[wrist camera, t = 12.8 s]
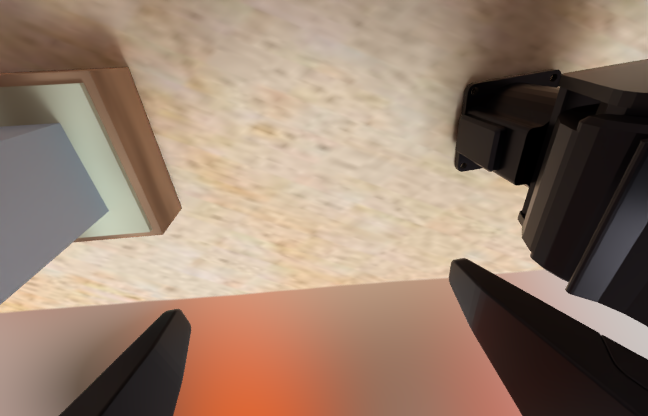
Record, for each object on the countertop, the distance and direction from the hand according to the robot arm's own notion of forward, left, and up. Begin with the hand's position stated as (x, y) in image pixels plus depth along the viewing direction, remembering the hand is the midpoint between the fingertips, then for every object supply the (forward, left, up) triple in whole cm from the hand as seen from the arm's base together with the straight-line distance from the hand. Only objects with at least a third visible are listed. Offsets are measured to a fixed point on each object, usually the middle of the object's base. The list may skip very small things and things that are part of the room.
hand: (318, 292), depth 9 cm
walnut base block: (+15, -3, -13) cm, 20 cm away
